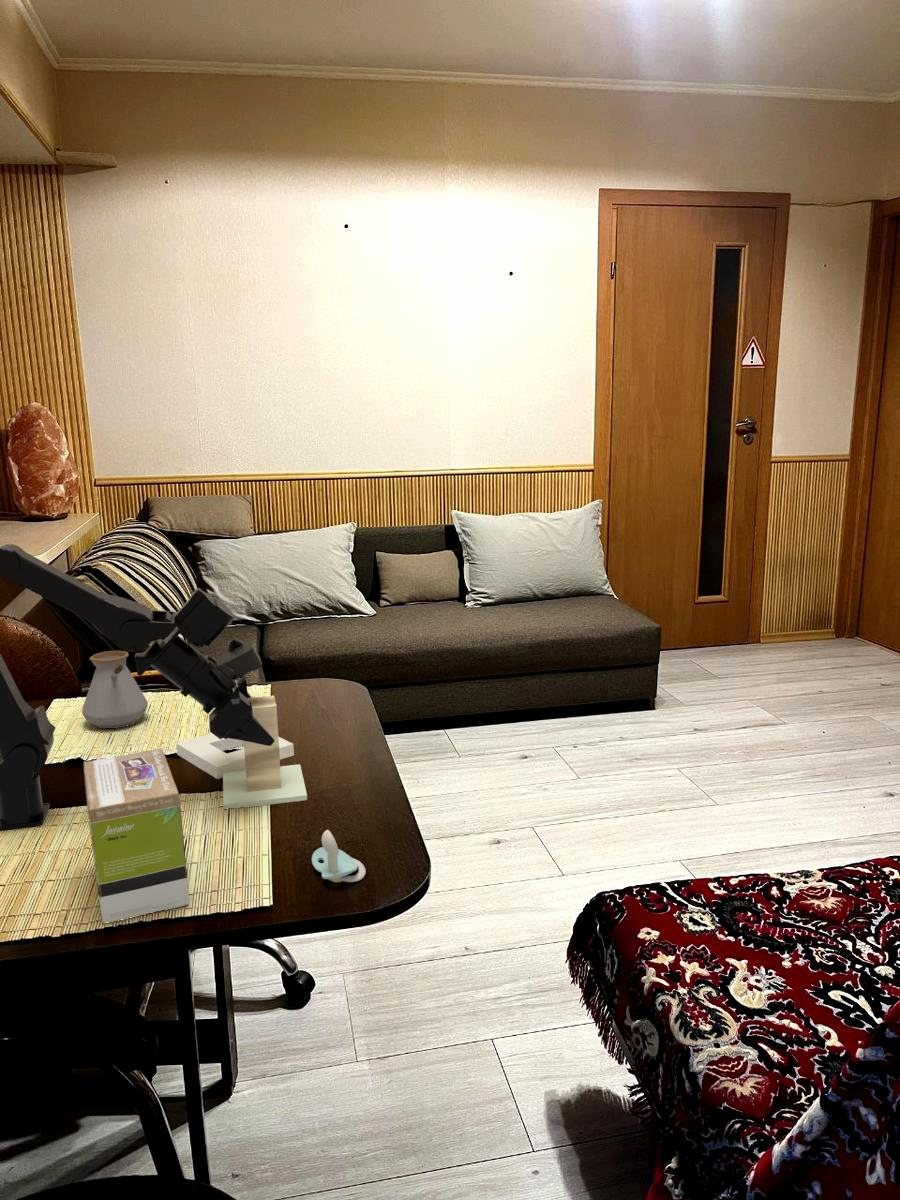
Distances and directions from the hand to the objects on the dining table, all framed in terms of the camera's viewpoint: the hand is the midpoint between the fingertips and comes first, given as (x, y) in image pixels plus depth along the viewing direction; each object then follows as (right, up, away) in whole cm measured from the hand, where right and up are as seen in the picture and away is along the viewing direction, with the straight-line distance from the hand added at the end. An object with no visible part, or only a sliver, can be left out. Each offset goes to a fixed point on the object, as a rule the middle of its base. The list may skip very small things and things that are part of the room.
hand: (269, 732), depth 138 cm
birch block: (-1, -8, +1) cm, 8 cm away
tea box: (-11, -15, -26) cm, 32 cm away
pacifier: (+14, -15, -24) cm, 31 cm away
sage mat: (-1, -9, +2) cm, 9 cm away
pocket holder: (-9, -6, +15) cm, 18 cm away
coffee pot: (-32, -4, +27) cm, 43 cm away
